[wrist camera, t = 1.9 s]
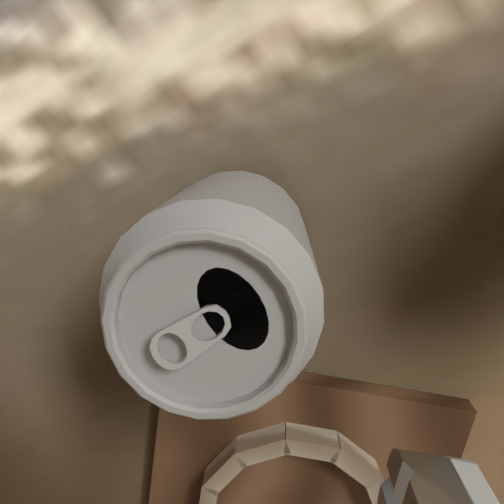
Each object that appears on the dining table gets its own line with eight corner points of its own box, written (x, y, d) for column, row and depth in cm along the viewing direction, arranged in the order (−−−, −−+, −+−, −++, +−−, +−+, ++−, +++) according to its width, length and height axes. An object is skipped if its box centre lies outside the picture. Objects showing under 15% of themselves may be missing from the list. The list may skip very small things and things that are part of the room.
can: (329, 261, 25) (376, 379, 13) (216, 322, 26) (167, 477, 14) (261, 141, 23) (245, 155, 12) (144, 213, 24) (24, 289, 13)
